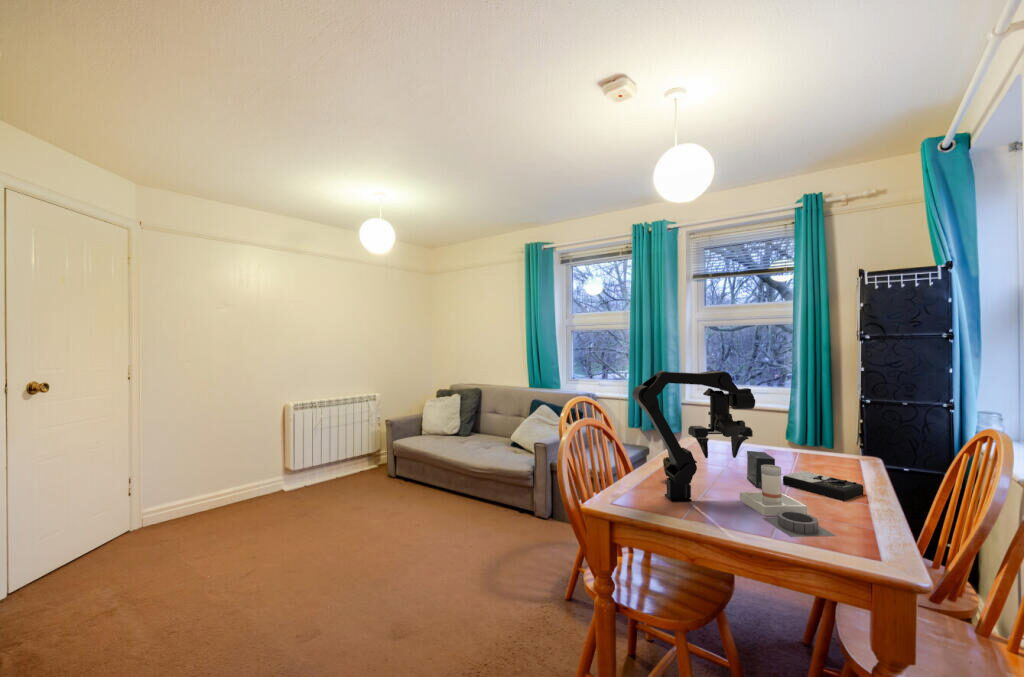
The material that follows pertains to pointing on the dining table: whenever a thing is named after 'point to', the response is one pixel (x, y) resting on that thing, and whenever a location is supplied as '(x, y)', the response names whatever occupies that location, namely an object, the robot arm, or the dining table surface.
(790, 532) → the fuse holder
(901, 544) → the dining table surface
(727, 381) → the robot arm
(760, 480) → the small box
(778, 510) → the tray
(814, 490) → the multimeter
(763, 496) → the cylinder
